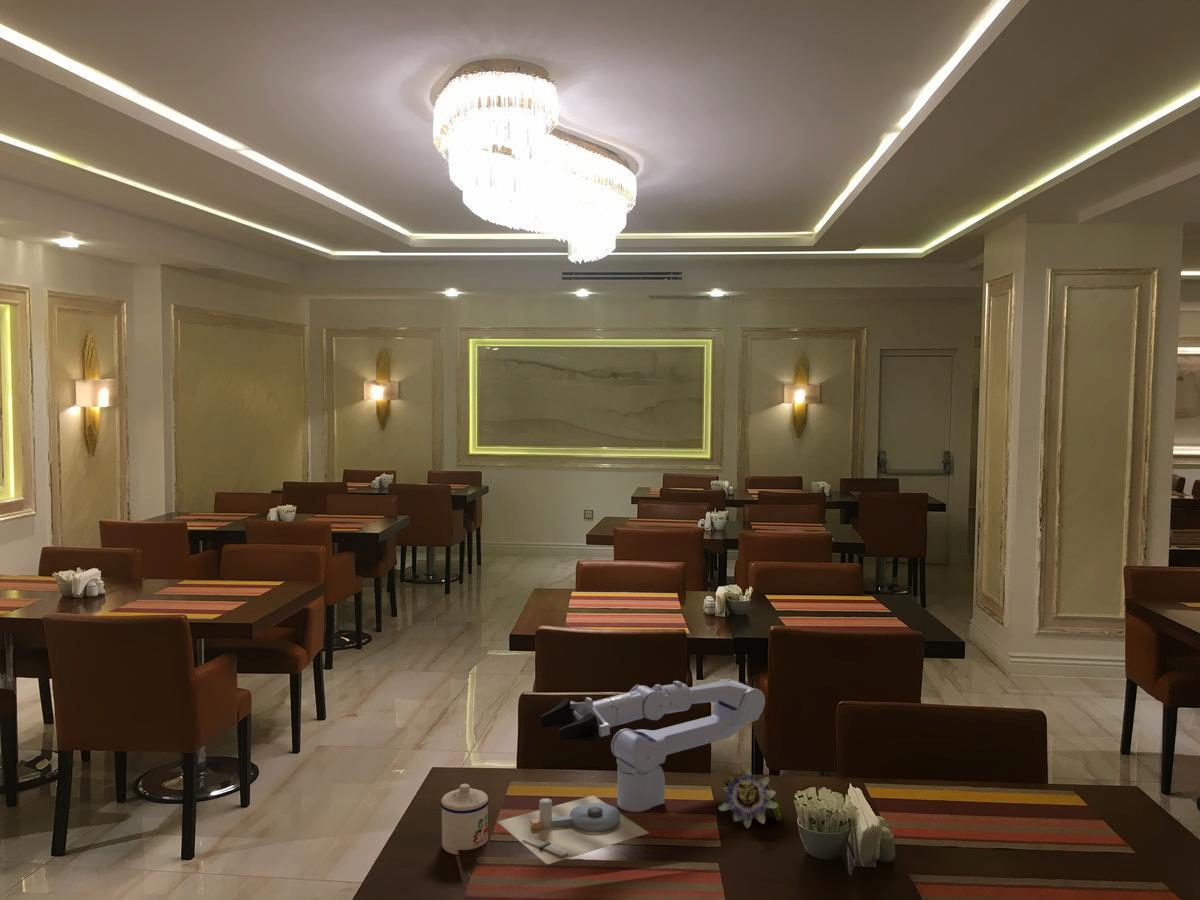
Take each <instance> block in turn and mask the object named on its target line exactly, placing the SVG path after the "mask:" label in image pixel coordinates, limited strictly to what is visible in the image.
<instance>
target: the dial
mask: <svg viewBox="0 0 1200 900" xmlns="http://www.w3.org/2000/svg"><path fill="white" fill-rule="evenodd" d="M538 802H539V804H538V805H539V809H538V810H539V818H537V819H531V826H532V829H533V830H535V829H548V828H551V827H558V826H566V825H573V826H574V827H575V828H577V829H580V830H584V831H590V832H601V831H607V830H610V829H613V828H615V827H616V826H618V825H619V823H620V813H621V812H620V810H619V809H618V808H617V807H616V806H613V805H611V804H607V803H606V804H602V803H588V804H583V805H580V806H577V807H575V808H574V809H572V810H571V812H570V815H568V816H560V817H552V806H553V805H552V804H553V802H552V799H551V798H547V797H546V798H541V799H540V800H539V801H538Z"/></svg>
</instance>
